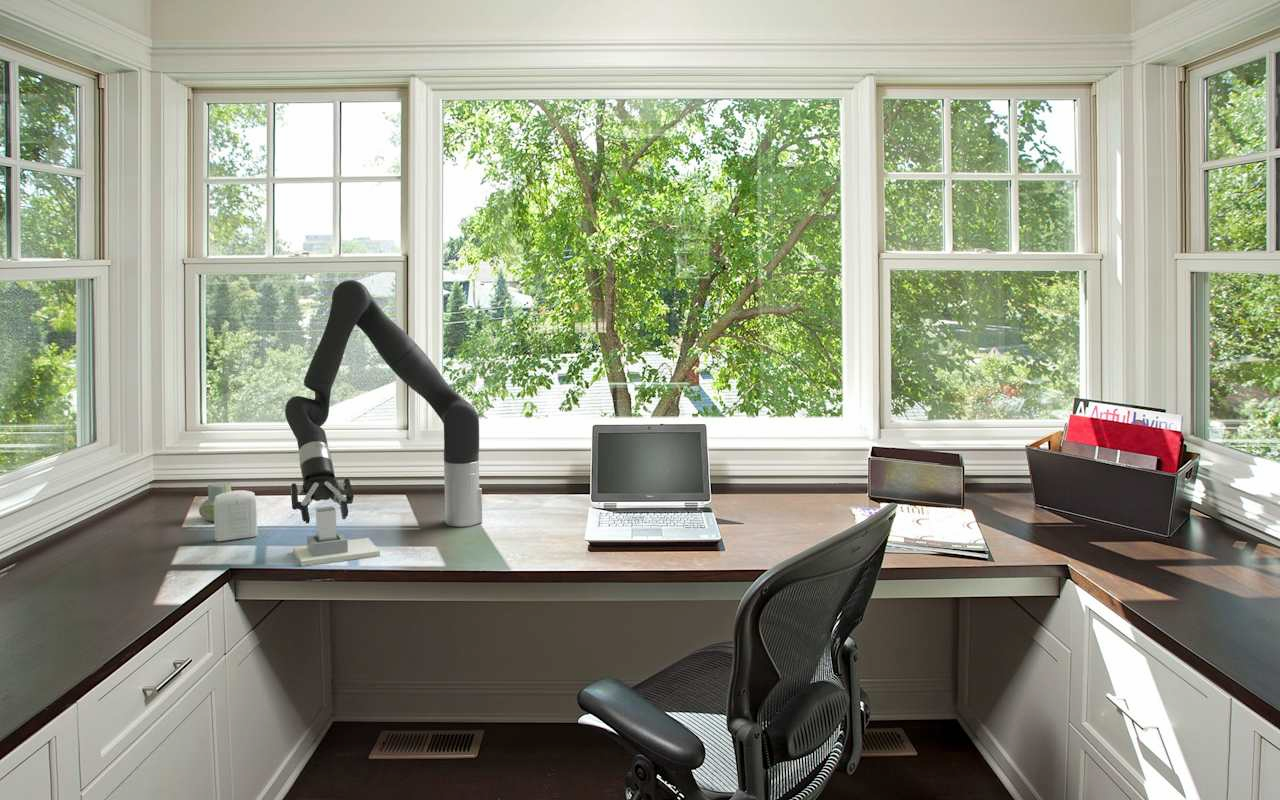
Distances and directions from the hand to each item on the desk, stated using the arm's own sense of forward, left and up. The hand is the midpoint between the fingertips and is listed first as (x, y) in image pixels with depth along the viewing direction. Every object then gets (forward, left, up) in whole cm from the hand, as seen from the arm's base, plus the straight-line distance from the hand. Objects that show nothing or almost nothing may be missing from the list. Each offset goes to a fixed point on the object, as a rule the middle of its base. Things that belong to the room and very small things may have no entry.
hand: (326, 519), depth 232 cm
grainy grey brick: (0, -1, -8) cm, 8 cm away
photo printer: (+18, -26, -9) cm, 33 cm away
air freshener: (+20, -48, -9) cm, 53 cm away
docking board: (-2, 0, -9) cm, 9 cm away
